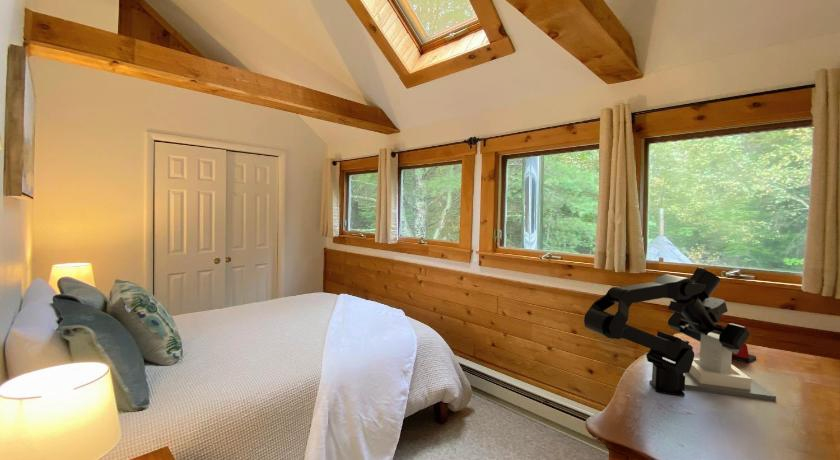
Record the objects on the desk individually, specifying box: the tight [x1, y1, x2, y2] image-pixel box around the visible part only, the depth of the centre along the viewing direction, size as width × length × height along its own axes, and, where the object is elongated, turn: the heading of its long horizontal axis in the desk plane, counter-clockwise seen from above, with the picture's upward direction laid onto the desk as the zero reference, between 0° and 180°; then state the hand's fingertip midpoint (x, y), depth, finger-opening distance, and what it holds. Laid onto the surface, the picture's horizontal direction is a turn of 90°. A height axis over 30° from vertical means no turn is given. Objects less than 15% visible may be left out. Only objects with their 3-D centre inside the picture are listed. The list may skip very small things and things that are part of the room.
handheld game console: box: [732, 342, 757, 364], centre depth 124 cm, size 12×11×7 cm
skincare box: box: [699, 332, 733, 374], centre depth 104 cm, size 6×4×12 cm
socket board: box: [673, 357, 777, 402], centre depth 104 cm, size 20×16×4 cm
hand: (719, 346), depth 104 cm, fingers open, 9 cm apart
